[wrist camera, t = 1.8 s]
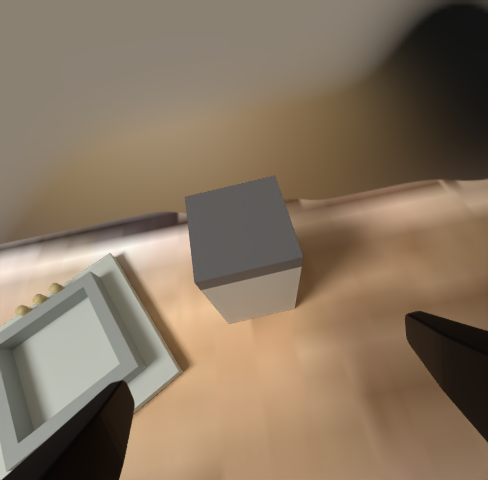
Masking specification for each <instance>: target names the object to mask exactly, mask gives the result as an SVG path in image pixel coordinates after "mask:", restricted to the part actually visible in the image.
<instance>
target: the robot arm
mask: <svg viewBox="0 0 488 480" xmlns="http://www.w3.org/2000/svg"><path fill="white" fill-rule="evenodd" d="M405 326H406V337H407V340H408V342H409V344H410V346H411V347H412V348H413V350H414V351H415V353H416V354H417V355H418V357H419V358H420V359H421V361H422V362H423V364H424V365H425V366H426V368H427V369H428V371H429V372H430V373H431V375H432V376H433V378H434V379H435V380H436V382H437V383H438V384H439V386H440V387H441V388H442V390H443V391H444V392H445V393H446V395H447V396H448V397H449V398H450V399H451V400H452V402H453V403H454V404H455V405H456V406H457V407H458V409H459V410H460V411H461V412H462V413H463V414H464V415H465V417H466V418H467V419H468V420H469V421H470V422H471V424H472V425H473V426H474V427H475V428H476V429H477V430H478V432H479V433H480V434H481V435H482V436H483V437H484V439H485V440H486V441H487V442H488V331H486V330H482V329H479V328H476V327H472V326H469V325H466V324H462V323H459V322H455V321H452V320H449V319H445V318H442V317H439V316H435V315H432V314H428V313H425V312H422V311H416V312H411V313H408V314H406V316H405ZM134 408H135V402H134V398H133V396H132V394H131V391H130V389H129V387H128V384H127V382H126V381H125V380H120V381H115V382H112V383H110V384H109V385H108V386H106V387H105V388H104V389H103V390H102V391H101V392H100V393H99V394H97V395H96V396H95V397H94V398H93V399H92V400H91V401H90V402H88V403H87V404H86V405H85V406H84V407H83V408H82V409H81V410H79V411H78V412H77V413H76V414H75V415H74V416H73V417H72V418H70V419H69V420H68V421H67V422H66V423H65V424H64V425H63V426H61V427H60V428H59V429H58V430H57V431H56V432H55V433H54V434H52V435H51V436H50V437H49V438H48V439H47V440H46V441H45V442H43V443H42V444H41V445H40V446H39V447H38V448H37V449H36V450H34V451H33V452H32V453H31V454H30V455H29V456H28V457H27V458H25V459H24V460H23V461H22V462H21V463H20V464H19V465H18V466H16V467H15V468H14V469H13V470H12V471H11V472H10V473H9V474H7V475H6V476H5V477H4V478H3V479H2V480H119V478H120V474H121V471H122V467H123V463H124V459H125V454H126V449H127V444H128V439H129V434H130V429H131V424H132V418H133V413H134Z"/></svg>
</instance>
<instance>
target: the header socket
mask: <svg viewBox="0 0 488 480" xmlns="http://www.w3.org/2000/svg"><path fill="white" fill-rule="evenodd" d="M49 291H50V292H51V293H50V294H48V295H47V296H44V295H41V294H37V295H35V296H34V298H33V303H35V304H33V305H32V306H30V307H27V306H23V305H21V306H19V307H18V308H17V309H16V312H15V313H16V314H17V316H16V317H14V318H13V319H11V320H10V321H8V322H7V323H5V324H4V325H2V326H1V327H0V480H2V479H3V478H4V477H5V476H6V475H7V474H9V473H10V472H11V471H12V470H13V469H14V468H15V467H16V466H18V465H19V464H20V463H21V462H22V461H23V460H24V459H25V458H27V457H28V456H29V455H30V454H31V453H32V452H33V451H34V450H36V449H37V448H38V447H39V446H40V445H41V444H42V443H43V442H45V441H46V440H47V439H48V438H49V437H50V436H51V435H52V434H54V433H55V432H56V431H57V430H58V429H59V428H60V427H61V426H63V425H64V424H65V423H66V422H67V421H68V420H69V419H70V418H72V417H73V416H74V415H75V414H76V413H77V412H78V411H79V410H81V409H82V408H83V407H84V406H85V405H86V404H87V403H88V402H90V401H91V400H92V399H93V398H94V397H95V396H96V395H97V394H99V393H100V392H101V391H102V390H103V389H104V388H105V387H106V386H108V385H109V384H110V383H112V382H115V381H120V380H125V381H126V382H127V384H128V387H129V389H130V391H131V394H132V396H133V398H134V402H135V408H134V413H135V412H137V411H138V410H139V409H140V408H141V407H143V406H144V405H145V404H146V403H147V402H148V401H150V400H151V399H152V398H153V397H154V396H156V395H157V394H158V393H159V392H160V391H162V390H163V389H164V388H165V387H166V386H167V385H169V384H170V383H171V382H172V381H173V380H175V379H176V378H177V377H178V376H179V375H181V374H182V373H183V371H182V369H181V368H180V366H179V364H178V363H177V361H176V359H175V358H174V356H173V354H172V352H171V351H170V349H169V347H168V346H167V344H166V342H165V341H164V339H163V337H162V336H161V334H160V332H159V330H158V329H157V327H156V325H155V324H154V322H153V320H152V319H151V317H150V315H149V313H148V312H147V310H146V308H145V307H144V305H143V303H142V302H141V300H140V298H139V297H138V295H137V293H136V291H135V290H134V288H133V286H132V285H131V283H130V281H129V280H128V278H127V276H126V274H125V273H124V271H123V269H122V268H121V266H120V264H119V263H118V261H117V259H116V258H115V257H114V256H113V255H112V254H110V253H109V254H107V255H106V256H104V257H103V258H102V259H100V260H99V261H97V262H96V263H94V264H93V265H91V266H90V267H88V268H87V269H85V270H84V271H82V272H81V273H79V274H78V275H76V276H75V277H73V278H72V279H70V280H69V281H67V282H66V283H65V284H63V285H62V286H61V285H59V284H57V283H54V284H52V285H51V286H50V288H49ZM134 413H133V414H134Z"/></svg>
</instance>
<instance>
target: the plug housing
mask: <svg viewBox="0 0 488 480" xmlns="http://www.w3.org/2000/svg"><path fill="white" fill-rule="evenodd" d="M185 201H186V211H187V220H188V229H189V238H190V247H191V256H192V265H193V273H194V282H195V284H196V285H197V286H198V287H199V289H200V290H201V291H202V292H203V293H204V295H205V296H206V297H207V298H208V299H209V301H210V302H211V303H212V304H213V305H214V307H215V308H216V309H217V310H218V312H219V313H220V314H221V315H222V316H223V318H224V319H225V320H226V321H227V322H228V324H232V323H237V322H241V321H245V320H249V319H254V318H258V317H262V316H267V315H271V314H275V313H279V312H284V311H288V310H292V309H295V303H296V298H297V292H298V286H299V280H300V274H301V269H302V263H303V254H302V251H301V248H300V246H299V243H298V240H297V237H296V234H295V231H294V228H293V226H292V223H291V220H290V217H289V214H288V211H287V208H286V205H285V203H284V200H283V197H282V194H281V191H280V188H279V185H278V183H277V180H276V177H275V176H271V177H267V178H263V179H259V180H254V181H250V182H246V183H242V184H238V185H233V186H229V187H225V188H221V189H217V190H212V191H208V192H204V193H200V194H196V195H192V196H188V197H185Z"/></svg>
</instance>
